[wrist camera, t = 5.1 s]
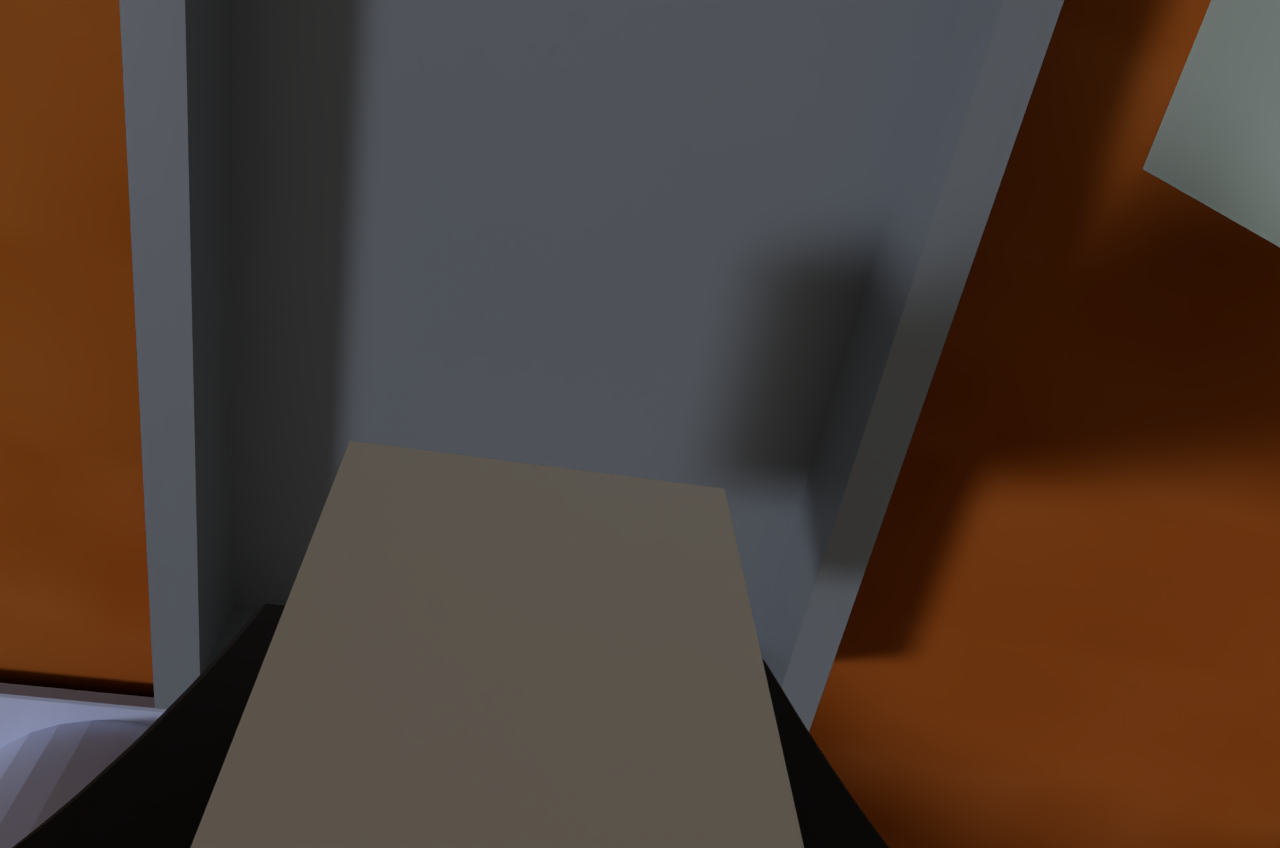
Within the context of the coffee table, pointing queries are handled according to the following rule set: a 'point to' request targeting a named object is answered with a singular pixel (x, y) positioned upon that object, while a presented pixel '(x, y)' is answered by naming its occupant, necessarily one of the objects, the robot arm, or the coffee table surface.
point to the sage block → (1228, 117)
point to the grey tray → (552, 266)
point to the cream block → (509, 671)
